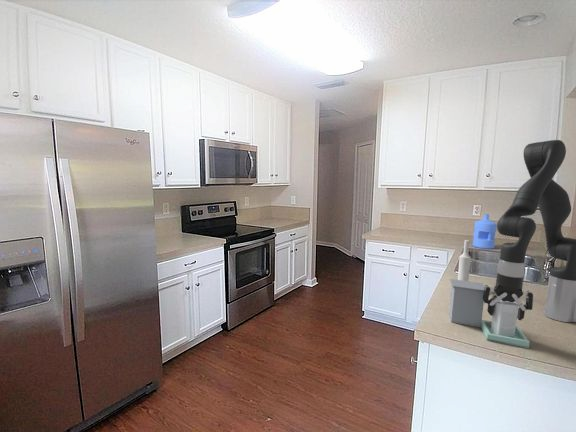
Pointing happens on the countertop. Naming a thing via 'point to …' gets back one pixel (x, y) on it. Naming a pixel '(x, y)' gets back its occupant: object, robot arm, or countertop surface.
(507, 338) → the tray
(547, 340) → the countertop surface
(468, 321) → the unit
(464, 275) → the bottle
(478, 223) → the water jug
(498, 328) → the skincare box
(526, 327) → the countertop surface
